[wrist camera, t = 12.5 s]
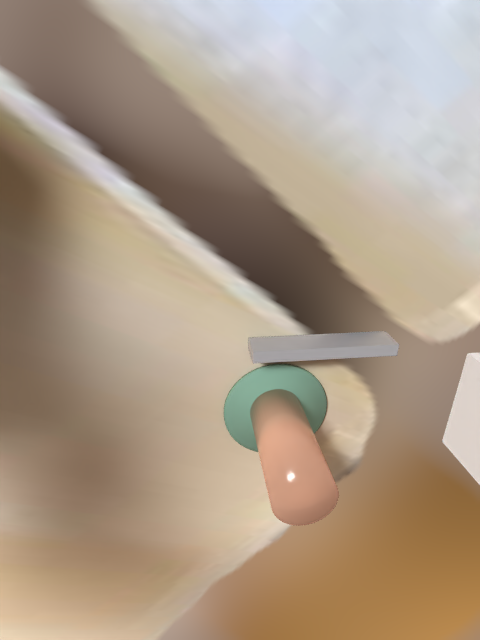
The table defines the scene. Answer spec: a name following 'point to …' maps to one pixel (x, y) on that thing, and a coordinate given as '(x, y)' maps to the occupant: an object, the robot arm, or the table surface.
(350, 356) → the rail
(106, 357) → the table surface
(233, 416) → the pad
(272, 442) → the peach rounded cylinder
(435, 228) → the table surface
